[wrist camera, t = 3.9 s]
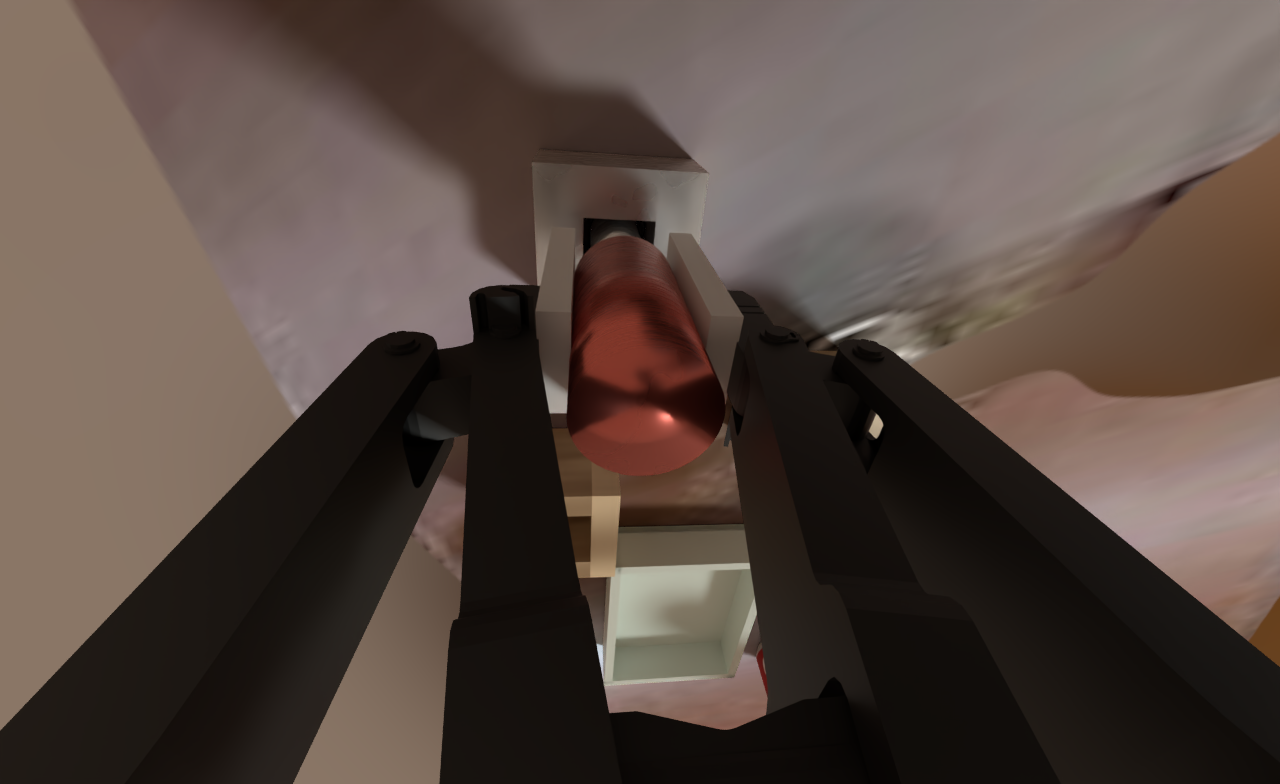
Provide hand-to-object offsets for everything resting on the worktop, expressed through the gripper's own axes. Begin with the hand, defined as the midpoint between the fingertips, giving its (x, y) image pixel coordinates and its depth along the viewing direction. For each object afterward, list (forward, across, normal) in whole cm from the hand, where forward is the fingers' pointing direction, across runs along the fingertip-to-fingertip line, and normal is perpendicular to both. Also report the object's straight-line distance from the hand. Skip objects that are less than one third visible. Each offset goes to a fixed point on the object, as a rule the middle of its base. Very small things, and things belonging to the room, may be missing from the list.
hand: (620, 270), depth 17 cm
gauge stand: (+5, 0, 0) cm, 5 cm away
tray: (+5, +6, -26) cm, 26 cm away
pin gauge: (+5, 0, 0) cm, 5 cm away
